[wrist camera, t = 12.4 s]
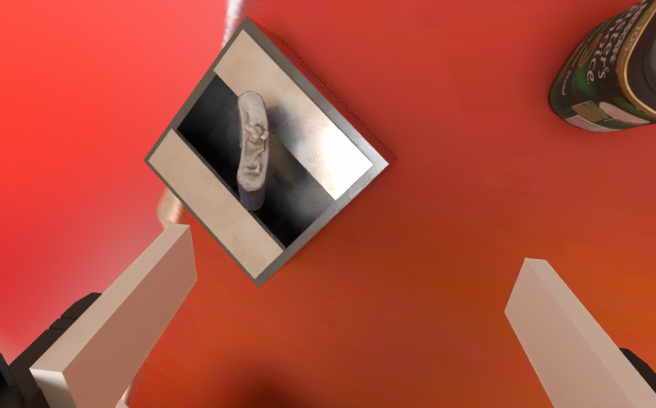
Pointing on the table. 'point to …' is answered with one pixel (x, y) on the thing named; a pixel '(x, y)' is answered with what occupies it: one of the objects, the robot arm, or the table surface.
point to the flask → (253, 149)
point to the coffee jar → (611, 74)
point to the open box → (285, 153)
